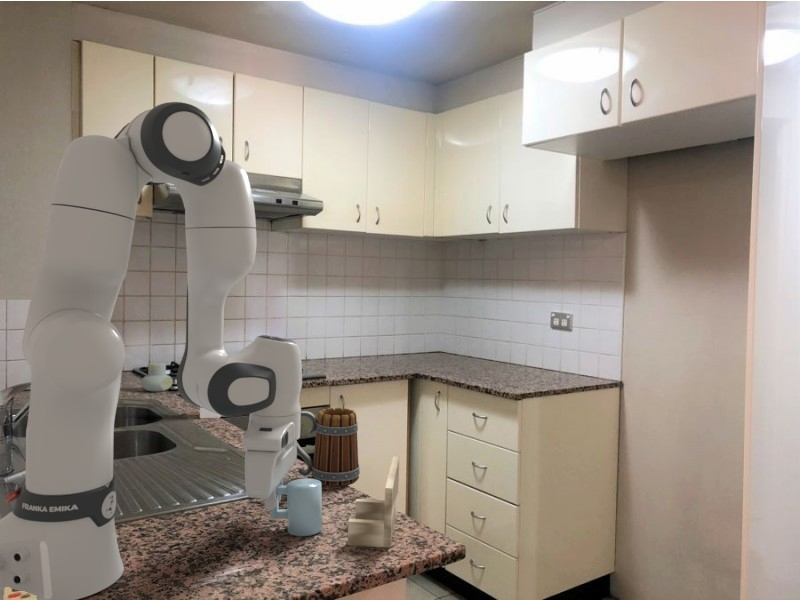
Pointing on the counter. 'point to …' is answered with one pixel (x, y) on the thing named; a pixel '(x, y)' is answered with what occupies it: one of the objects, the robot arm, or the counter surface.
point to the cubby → (376, 515)
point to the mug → (333, 447)
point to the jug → (301, 506)
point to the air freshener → (156, 378)
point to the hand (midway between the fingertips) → (272, 505)
